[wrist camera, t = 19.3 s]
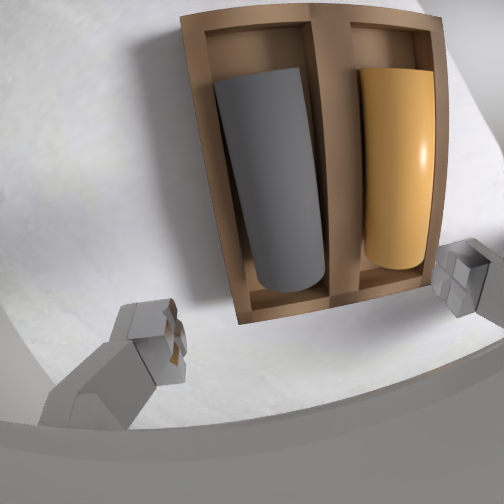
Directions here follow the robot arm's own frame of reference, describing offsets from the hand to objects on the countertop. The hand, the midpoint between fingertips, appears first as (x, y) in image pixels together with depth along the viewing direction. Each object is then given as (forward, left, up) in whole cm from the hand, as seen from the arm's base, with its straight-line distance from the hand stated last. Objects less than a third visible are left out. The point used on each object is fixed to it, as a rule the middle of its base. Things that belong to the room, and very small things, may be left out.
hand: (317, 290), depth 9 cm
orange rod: (+8, +1, -10) cm, 13 cm away
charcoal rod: (0, +1, -10) cm, 10 cm away
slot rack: (+4, +1, -11) cm, 12 cm away
